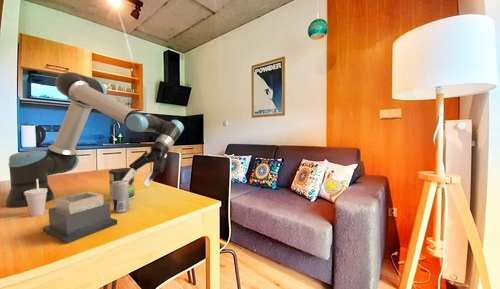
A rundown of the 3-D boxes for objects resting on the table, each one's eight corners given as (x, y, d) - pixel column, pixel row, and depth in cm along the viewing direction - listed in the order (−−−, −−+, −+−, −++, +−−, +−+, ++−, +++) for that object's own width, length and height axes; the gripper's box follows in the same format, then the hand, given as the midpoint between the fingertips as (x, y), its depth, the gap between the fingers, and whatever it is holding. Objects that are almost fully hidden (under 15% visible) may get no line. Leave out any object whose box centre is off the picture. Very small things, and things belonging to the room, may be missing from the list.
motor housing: (43, 231, 66) (40, 199, 65) (92, 215, 78) (91, 188, 77) (66, 243, 58) (64, 207, 58) (117, 224, 71) (115, 194, 70)
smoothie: (53, 212, 82) (50, 178, 81) (31, 219, 76) (28, 181, 75) (43, 210, 84) (40, 177, 83) (21, 216, 78) (18, 180, 77)
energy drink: (118, 208, 85) (117, 180, 85) (131, 208, 86) (130, 180, 85) (110, 213, 80) (109, 183, 79) (125, 213, 80) (123, 183, 80)
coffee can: (139, 195, 103) (138, 167, 102) (123, 202, 93) (121, 171, 92) (122, 194, 105) (121, 167, 104) (104, 201, 95) (103, 171, 94)
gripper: (185, 151, 96) (160, 191, 83) (150, 150, 107) (122, 185, 95) (176, 140, 91) (147, 181, 78) (140, 140, 102) (110, 176, 89)
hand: (134, 183), depth 86 cm, fingers open, 13 cm apart
